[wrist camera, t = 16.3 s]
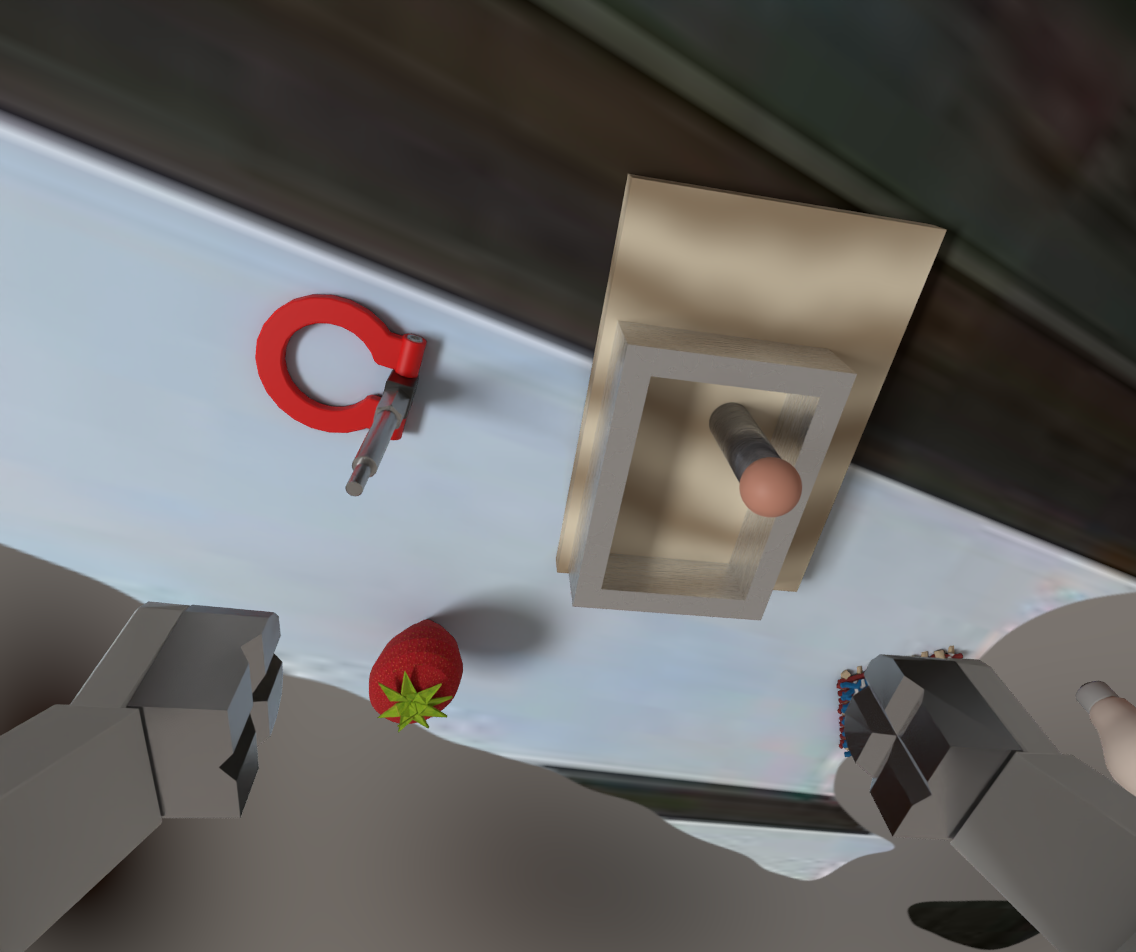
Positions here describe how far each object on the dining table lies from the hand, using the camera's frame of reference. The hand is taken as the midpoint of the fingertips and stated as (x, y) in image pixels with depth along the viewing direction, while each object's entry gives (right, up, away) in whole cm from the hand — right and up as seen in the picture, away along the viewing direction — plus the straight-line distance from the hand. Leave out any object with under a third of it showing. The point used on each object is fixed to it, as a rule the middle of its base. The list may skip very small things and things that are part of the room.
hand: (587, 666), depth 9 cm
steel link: (+8, +3, +36) cm, 36 cm away
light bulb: (+46, -16, +52) cm, 71 cm away
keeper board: (+10, +7, +35) cm, 37 cm away
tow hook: (-14, +9, +32) cm, 36 cm away
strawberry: (-11, -8, +43) cm, 45 cm away
